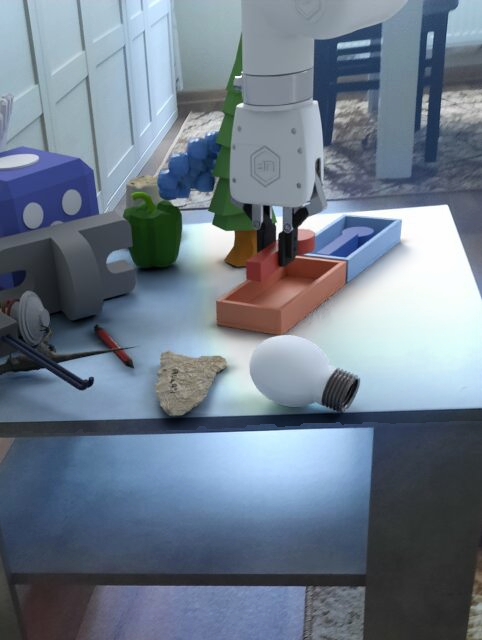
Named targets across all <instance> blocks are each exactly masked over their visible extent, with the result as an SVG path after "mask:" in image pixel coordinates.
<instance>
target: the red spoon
mask: <svg viewBox="0 0 482 640" xmlns="http://www.w3.org/2000/svg"><path fill="white" fill-rule="evenodd" d="M315 233H316V232H315V231H313V230H311V229H307V228H298V252H297V255H304V254H308V253H310V252H312V251H314V249H315ZM279 268H280V266H279V251H278V239H277V238H276V241H275V242H273V243H272V244H270V245H269V246H267V247H266V248H264V249H263V250H261V251H260V252H258V253H257V254H256V255H254V256H253V257H251V258H250V259H248V260H247V261H246V266H245V277H246V278H245V280H253V281H260V282H261V281H262V280H264V279H265V278H267V277H268V276H269V275H271V274H272V273H273V272H275V271H276V270H277V269H279Z"/></svg>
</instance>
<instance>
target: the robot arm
mask: <svg viewBox="0 0 482 640" xmlns="http://www.w3.org/2000/svg"><path fill="white" fill-rule="evenodd" d="M409 1H410V0H241V1H240V2H241V3H240V5H241V10H240V11H241V32H242V65H243V72H242V73H241V76H236V77H235V78H234V82H233V86H234V89H235V90H240V91H241V92H242V99H243V103H241V104H239V105H237V106H236V111H235V117H234V123H233V130H232V139H231V153H230V192H231V196H230V202H231V203H232V204H233V205H235V206H236V207H238V208H240V209H241V210H244V212H245V213H246V215H247V216H248V217H249V218H250V220H251V221H252V226H253V228H254V229H256V230H257V253H258V252H260V251H261V250H263V249H264V248H266V247H267V246H269V245H270V244H272V243H273V242H275V241H276V240H277V238H278V251H279V266H280V267H285V266H287V265H288V264H289V263H291V262H292V261H294V259H295V257H296V255H297V252H298V229H299V227H301V226H302V225H303V223H304V222H305V221H306V220H307V219H308V218H309V217H312V216H314V215H318V214H320V213H322V212H323V211H325V210H326V209H327V208H328V200H327V198H326V195H325V192H324V191H325V190H324V188H323V186H324V175H325V173H324V171H325V170H324V169H325V167H324V165H325V163H324V162H325V161H324V158H325V157H324V156H325V155H324V137H323V136H324V135H323V128H322V127H323V126H322V119H321V112H320V107H319V101H318V100H314V75H315V74H314V73H315V70H314V69H315V67H314V66H315V40H319V41H320V40H322V41H323V40H330V39H335V38H338V37H342V36H344V35H348V34H352V33H353V32H355V31H359V30H361V29H365V28H369V27H372V26H377V25H378V24H382V23H384V22H386V21H387V20H390V19H391V18H392V17H394V16H395V15H396V14H397V13H398V12H399V11H400V10H402V9H403V7H405V6H406V5H407V4H408V2H409ZM308 201H309V203H308V204H306V203H307V202H308ZM272 207H279V208H280V207H281V208H282V230H281V231H280V232H279V233H278V234H277V225H276V223H272Z"/></svg>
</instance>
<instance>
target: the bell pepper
mask: <svg viewBox="0 0 482 640" xmlns="http://www.w3.org/2000/svg"><path fill="white" fill-rule="evenodd" d="M131 196H132V198H133V200H134V201H135V200H137V199H143V200H145V201H143V202H142V203H141V204H139V205H138V206H136V207H131V208H127V209H126V208H124V210H123V214H122V217H123V218H124V219H125V220H127V221H128V222H129V223H130V225H131V232H132V244H133V246H132V247H128V248H127V249H128V252H129V254H130V257H131V259H132V262H133V263H134V265H136V267H138V268H139V269H147V268H153V267H157V268H166V267H169V266H172V265H174V264H175V263H176V262H177V260H178V258H179V254H180V248H181V241H182V237H181V235H182V234H183V214H182V212H181V210H180V208H179V206H177V205H174V204H173V203H171V202H172V201H171V202H170V201H168V200H162V201H161V202H159V203H157V204H155V203H153V202H152V199H151V197H150V196H149V195H148V194H146V193H144V192H135V193H133V194H131Z"/></svg>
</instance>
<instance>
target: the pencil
mask: <svg viewBox="0 0 482 640" xmlns="http://www.w3.org/2000/svg"><path fill="white" fill-rule="evenodd" d="M93 332H94V333H95V334H96V335H97V336H98V337H99V339H101V341H102V342H103V343H104V344H105V345H106V346H107V347H108V348H109V349H118V348H122V347H121V346H120V345H119V344H118V343H117V342H116V341H115V339H113V337H112V336H111V335H110V334H109V333H108V332H107V331H106V330H105V328H103V327H102V326H101V325H100V324H95V325H94V326H93ZM113 354H114V355H115V356H116V357H117V358H118V359H119V360H120V361H121V363H122V364H123V365H124V366H125V367H128V368H131V369H135V367H134V366H135V365H134V362H133V359H132V358H131V357H130V355H128V354H127V352H126V351H124V350H119V351H114V352H113Z"/></svg>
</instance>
